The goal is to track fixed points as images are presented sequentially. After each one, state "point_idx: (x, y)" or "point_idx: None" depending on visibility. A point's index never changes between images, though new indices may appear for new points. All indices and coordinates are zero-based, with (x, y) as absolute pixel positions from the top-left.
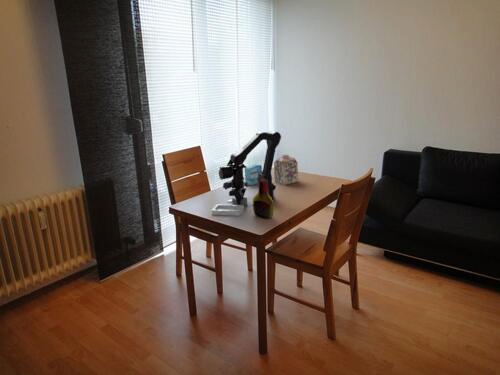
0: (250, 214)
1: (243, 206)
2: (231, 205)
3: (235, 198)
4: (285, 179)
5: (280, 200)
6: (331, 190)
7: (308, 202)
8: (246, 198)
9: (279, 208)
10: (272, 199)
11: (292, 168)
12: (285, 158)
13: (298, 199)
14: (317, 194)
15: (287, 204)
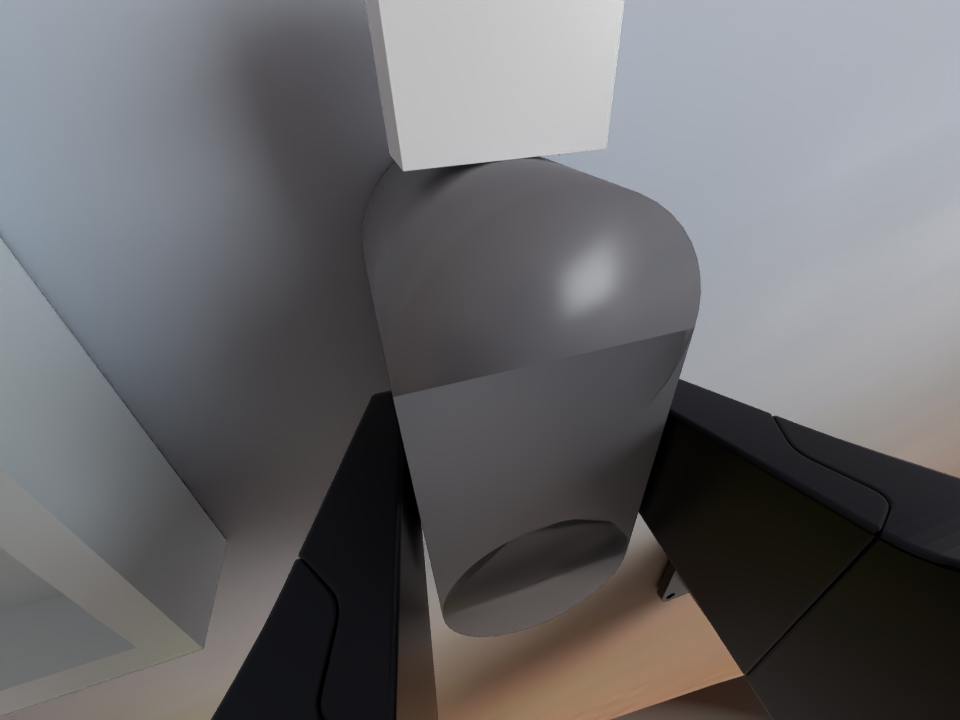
0: (58, 711)
1: (198, 622)
2: None
3: (520, 386)
4: None
5: (653, 619)
6: None
7: (595, 713)
8: (544, 615)
9: (446, 713)
10: (672, 595)
11: None
12: None
13: (658, 665)
14: (725, 666)
15: (554, 687)
